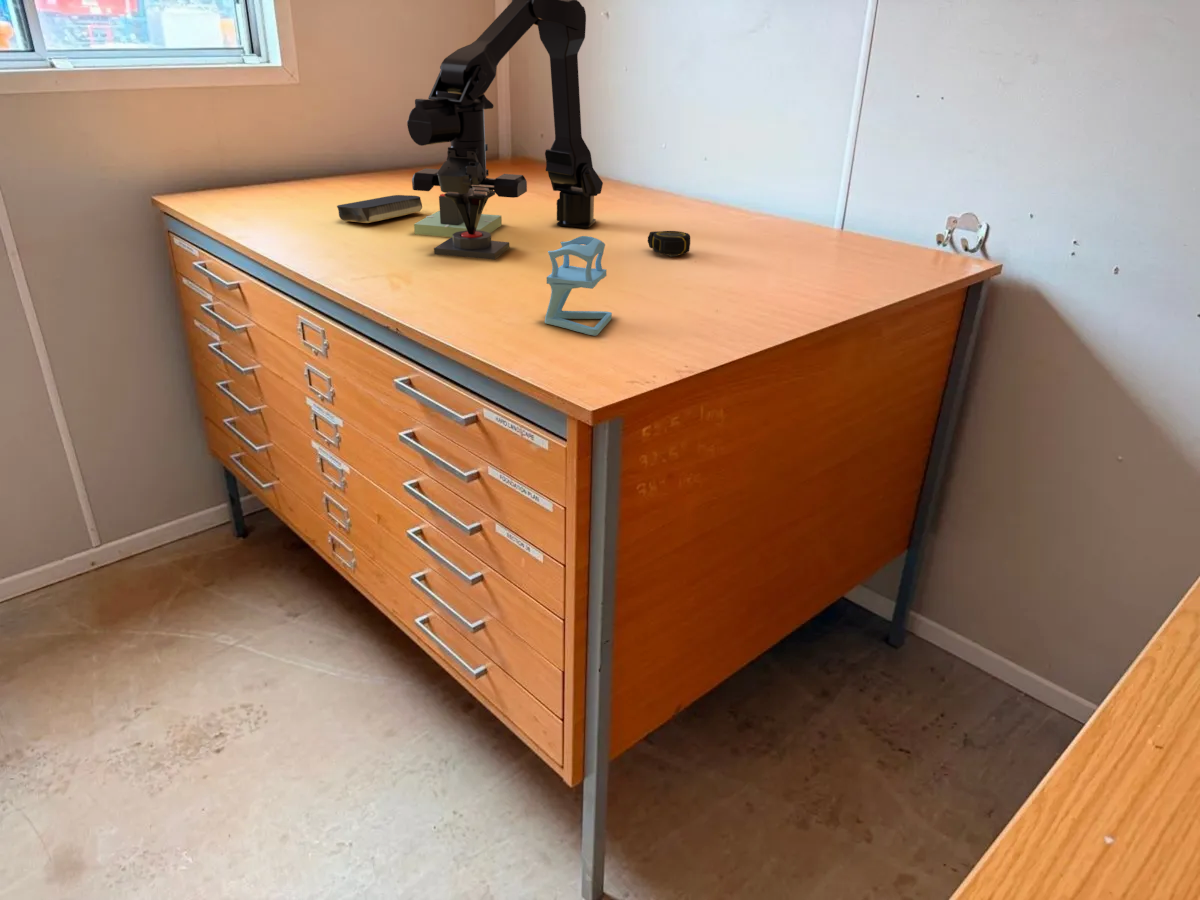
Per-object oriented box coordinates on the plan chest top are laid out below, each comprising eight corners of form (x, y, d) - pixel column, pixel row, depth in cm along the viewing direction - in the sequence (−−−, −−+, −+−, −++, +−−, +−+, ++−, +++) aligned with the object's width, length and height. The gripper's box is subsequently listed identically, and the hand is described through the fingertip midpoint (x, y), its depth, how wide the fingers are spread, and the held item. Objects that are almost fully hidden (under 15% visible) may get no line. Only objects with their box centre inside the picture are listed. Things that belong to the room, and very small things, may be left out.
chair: (557, 311, 125) (556, 227, 119) (612, 318, 123) (615, 233, 117) (538, 329, 118) (537, 241, 113) (596, 336, 116) (598, 247, 111)
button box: (509, 248, 155) (509, 231, 154) (494, 260, 148) (494, 242, 147) (451, 243, 157) (450, 227, 156) (434, 254, 150) (433, 237, 149)
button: (485, 242, 153) (485, 232, 153) (478, 247, 150) (477, 237, 149) (466, 240, 154) (465, 230, 153) (458, 245, 151) (458, 235, 150)
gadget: (459, 213, 170) (457, 185, 167) (476, 214, 169) (475, 187, 167) (440, 223, 162) (438, 194, 160) (458, 225, 161) (456, 196, 159)
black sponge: (363, 228, 165) (361, 209, 164) (334, 221, 170) (332, 202, 168) (427, 214, 177) (425, 196, 175) (398, 208, 182) (397, 190, 180)
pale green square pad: (503, 225, 171) (503, 213, 170) (479, 241, 159) (479, 229, 158) (440, 219, 173) (439, 208, 172) (412, 235, 162) (411, 223, 161)
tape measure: (683, 248, 158) (685, 228, 156) (694, 258, 152) (695, 237, 150) (646, 249, 157) (647, 228, 155) (655, 259, 151) (657, 238, 149)
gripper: (394, 142, 139) (402, 240, 146) (505, 150, 135) (508, 249, 143) (422, 133, 149) (428, 225, 156) (527, 140, 145) (528, 233, 152)
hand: (471, 233), depth 151 cm, fingers closed, pressing on button
